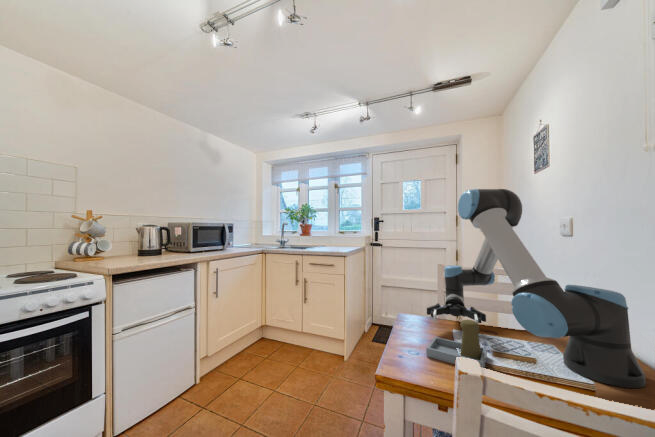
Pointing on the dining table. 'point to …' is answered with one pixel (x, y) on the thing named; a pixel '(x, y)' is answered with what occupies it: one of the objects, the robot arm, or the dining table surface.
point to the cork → (470, 340)
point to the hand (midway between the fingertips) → (455, 321)
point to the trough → (449, 351)
